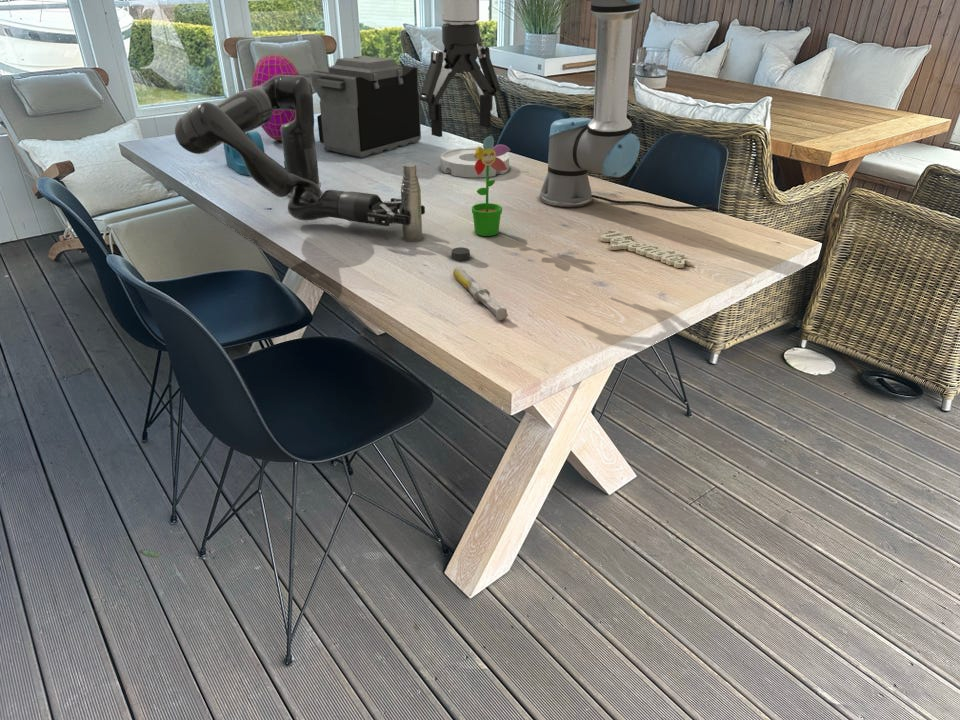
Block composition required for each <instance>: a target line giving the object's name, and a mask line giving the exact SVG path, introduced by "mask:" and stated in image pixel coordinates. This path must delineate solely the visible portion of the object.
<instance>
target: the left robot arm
mask: <svg viewBox="0 0 960 720" xmlns="http://www.w3.org/2000/svg"><path fill="white" fill-rule="evenodd" d="M312 87H313V86H312V83H311V81H310V79H309V78H308V77H306V76H304V75H300V76H295V75H277V76H275V77H273V78H271V79H269V80H268V81H266V82H265V83H263V84H262V85H260V86H256V87H253V88H252V87H249V88H247V89H244V90H240V91H238V92H236V93H233V94H232V95H230V96H227V98H225V99H223V100H222V101H220V102H219V103H217V104H214V103H212V102H209V101H204V102H201V103H199V104H197V105H196V106H194V107H193V108H191V109H189V110H188V111H187V112H186V113H184V114H183V115H181V116H180V117H179V118H178V119H177V121H176V122H175V126H174V136H175V139H176V142H177V143H178V144H179V145H180V146H181V147H182V148H183V149H184V150H185V151H187V152H189V153H192V154H196V155H203V154H206V153H209V152H211V151H212V150H215V148H217V147H219V146H220V145H222V144H223V143H225V144H227V145H229V146H231V147H232V148H234V149H235V150H236V151H237V152H238V153H239V154H240V156H241V157H242V159H243V161H244V163H245V166H246V168H247V170H248V172H249V174H250V175H249V176H250V177H251V178H252V180H254V182H256V183H257V184H258V185H259V186H261V187H262V188H264V189H265V190H266V191H268V192H270V193H271V194H272V195H274V196H276V197H277V198H284V197H287V196H289V197H290V198H289V200H288V203H287V211H288V214H290V215H291V217H292V218H294V219H296V220H300V221H314V220H315V221H316V220H321V219H327V218H333V219H340V220H345V221H348V222H354V223H361V224H368V225H375V226H383V227H390V226H391V225H397V224H398V225H402V226H403V225H409V224H410V216H408V215H402V202H401V198H395V197H391V198H390V200H386V201H382V199H381V197H380V195H378V194H374V193H368V192H359V191H344V190H337V189H336V190H335V189H327V190H325V191H324V192H323V193H322V190H321V188H322V184H321V183H322V182H321V181H320V174H319V166H318V165H319V164H318V157H317V148H316V140H315V139H316V138H315V114H314V113H315V112H314V96H313V95H314V94H313V88H312ZM274 110H291V111H295V119H294V120H293V121H291V122H288V123H285V124H283V125H282V126H281V128H280V129H281V137H282V141H281V145H282V151H283V159H284V161H283V165H284V166H282V165H281V164H280V163H279V162H277V161H275V159H273V158H271V156H269V155H268V153H266V152H265V151H264V152H265V153H264V152H263V151H262V150H261V149H260V148H259V147H258V146H257V145H256V144H255V143H254V142H253V140H252V139H251V138H250V137H249V136H248V135H247V134H246V133H247V132H252V131H253V130H256V129H258V128H261V126H262V125H264V124H266V123H267V122H268V121H269V120H270V118H271V116H272V113H273V111H274ZM425 209H426V207H425V205H422V204H421V216H422V215H423V216H424V214H425V213H426V210H425Z"/></svg>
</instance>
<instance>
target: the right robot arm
mask: <svg viewBox="0 0 960 720" xmlns="http://www.w3.org/2000/svg"><path fill="white" fill-rule="evenodd" d="M588 1H589V2H590V12H591V14H592V15H593V16H594V17H595V18H596V31H595V32H596V33H595V34H596V36H595V63H594V64H595V66H594V97H593V118H589V117H570V118H568V117H567V118H562V119H556V120H554V121H553V122H552V123H551V125H550V129H549V130H550V131H549V135H548V156H547V158H548V159H547V173H546V176H545V178H544V181H543V184H542V187H541V189H540V192H539V200H540V202H542V203H543V204H546V205H549V206H553V207H558V208H559V207H560V208H580V207H584V206H588V205H589V204H591V203H592V199H598V200H602V201H606V202H609V203H613V204H625V205H627V204H634V205H635V204H637V205H645V206H652V207H656V208H660V209H669V210H701V209H713V210H715V212H720V209H719V208H718V207H716V206H714V205H711V204H710V205H709V204H707V205H699V206H697V205H696V206H691V205H690V206H687V205H686V206H679V205H678V206H673V205H663V204H657V203H653V202H648V201H641V200H615V199H610V198H606V197H603V196H600V195H595V194H593V193H592V188H591V184H590V179H589V172H592V173H596V174H600V175H603V176H604V177H613V178H620V177H623V176H626V175H627V173H629V172H630V170H632V168H633V166H634V165H635V164H636V162H637V160H638V157H639V153H640V148H641V142H640V140H639V138H638V136H637V135H635V134H634V133H632V131H633V130H632V129H633V123H632V122H631V120H630V119H629V118H628V117H627V115H628V101H629V100H628V98H629V82H630V65H631V48H632V31H633V18H634V16H635V15H636V14H637V13H638V12H639V11H640V4H641V3H643V2H644V1H645V0H587V2H588ZM441 20H442V21H443V22H444V23H442V25H441V41H442V44H443V46H444V48H443V51H439V50H432V51H430V63H429V65H428V69H427V72H426V76H425V79H424V81H423V84H422V88H421V90H420V93H419V95H420V97H419V98H420V102H421V101H422V102H425V103H426V104H427V110H428V113H427V114H428V120H430V125H431V126H430V127H431V129H430V130H431V135H432V136H435V137H438V138H443V112H442V111H443V109H442V107H443V106H442V103H439V102H440V100H441V99H442V96H443V94H444V93H445V91H446V89H447V87H448V86H449V84H450V82H451V80H452V79H453V77H455V76H456V74H462V73H469V74H470V75H471V77H472V78H473V80H474V81H475V83H476V85H477V86H478V88H479V89H480V91H481V92H482V94H480V95H479V126H480V127H483V128H487V129H488V128H491V111H493V103H494V101H493V100H494V99H493V97H496V96H497V92H500V91H501V85H500V82H499V80H498V77H497V74H496V71H495V67H494V66H493V63H492V60H491V53H490V51H491V50H490V47H489V46H484V45H478V44H479V42H480V25H479V24H478V23H477V22H479V20H480V0H441ZM477 60H478V61H477ZM478 62H479V63H478ZM443 63H444V64H443ZM479 64H480V65H479Z"/></svg>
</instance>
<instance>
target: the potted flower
mask: <svg viewBox="0 0 960 720" xmlns="http://www.w3.org/2000/svg"><path fill="white" fill-rule="evenodd" d="M494 144H495V139H494V136H493V135H489V136H487V137H486V138H484V140H483V143H482V146H477V147H476V148H477V149H476V151H475V154H474V157H475V158H477V159H479V160H477V162H476V163H475V170H476V172H477V174H478V175H479V174H481V173H482V171H483V170H484V168H485V166H486V177H485V187H480V188H478V189H477V190H476V193H477V194H478V195H480V196H485V202H481V203H475V204H474V205H472V206H471V213H472V217H473V218H472V220H473V227H474V233H475V234H476V235H477V236H481V237H491V236H495V235H497V234H499V230H500V224H501V223H500V222H501V215H502V214H503V207H502V206H501V205H500V204H497V203H493V202H489V191H490V190H489V188H490V187H492V186H493V185H494V184H495V183H496V180H495V179H490V177H489V165H491V167H492V168H494V169H495V170H498V171H503V170H507V167H506V165H505V164H504V162H503V161H502V160H501V159H499V158H498V156H501V155H503V154H505V153H506V154H508V152H510V151H511V148H510V147H508V146H507V145H505V144H502V143H501V144H496V145H494ZM483 148H484V149H483Z"/></svg>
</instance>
